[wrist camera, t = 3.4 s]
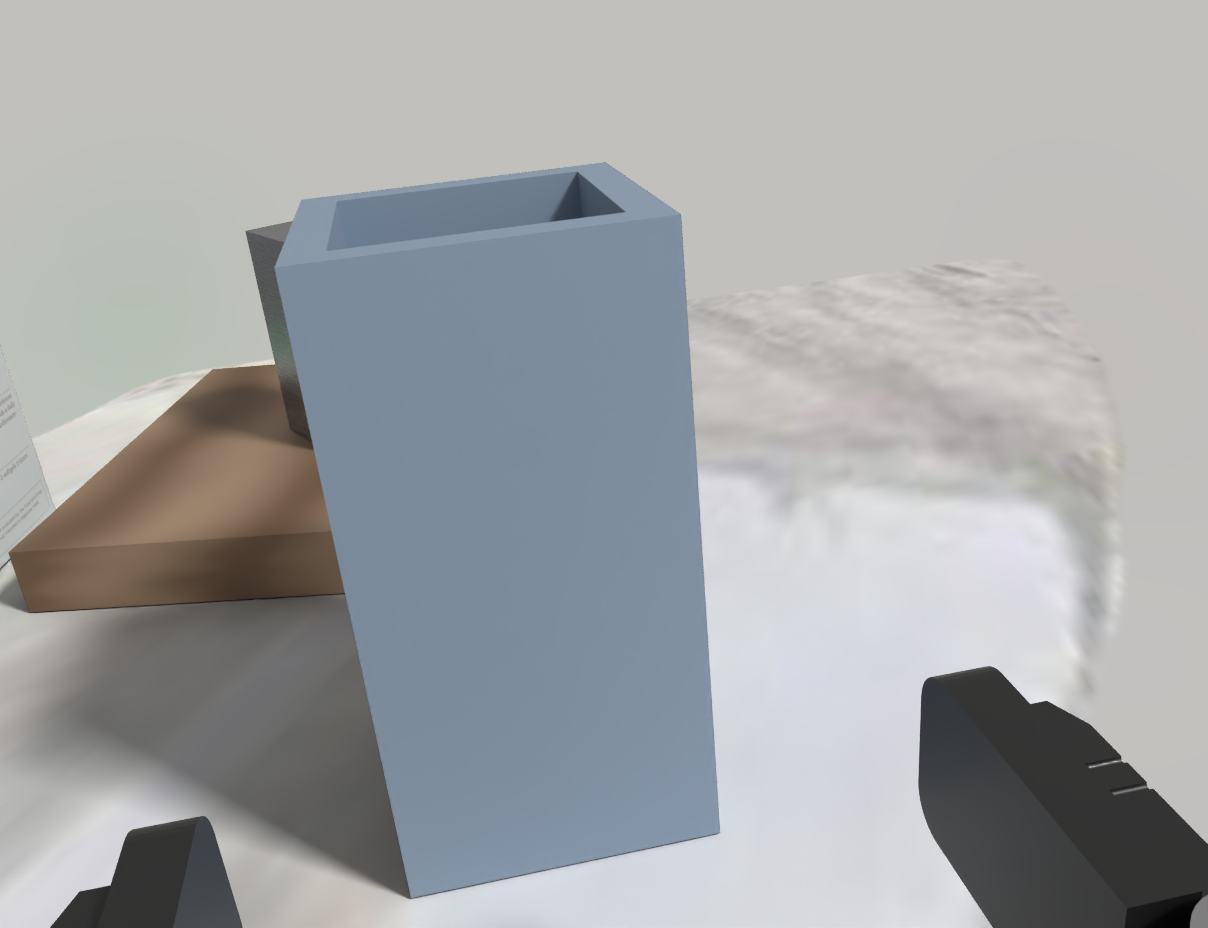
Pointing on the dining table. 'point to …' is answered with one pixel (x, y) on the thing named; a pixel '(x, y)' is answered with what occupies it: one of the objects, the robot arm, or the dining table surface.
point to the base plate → (192, 511)
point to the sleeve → (513, 510)
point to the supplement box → (18, 472)
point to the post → (278, 320)
